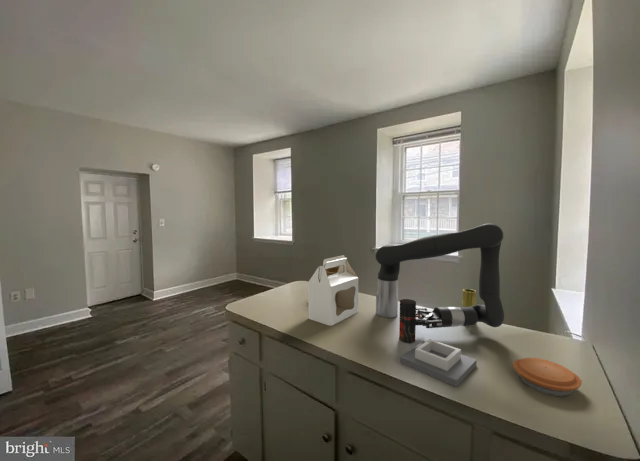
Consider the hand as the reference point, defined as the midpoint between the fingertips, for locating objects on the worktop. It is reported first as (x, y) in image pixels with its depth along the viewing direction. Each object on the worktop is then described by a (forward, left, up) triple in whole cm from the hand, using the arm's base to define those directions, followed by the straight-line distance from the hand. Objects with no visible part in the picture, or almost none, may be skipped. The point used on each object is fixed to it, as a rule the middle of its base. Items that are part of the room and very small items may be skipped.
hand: (407, 317), depth 111 cm
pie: (+42, +3, -9) cm, 43 cm away
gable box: (-37, -2, -9) cm, 38 cm away
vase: (+10, +35, -9) cm, 37 cm away
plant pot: (-55, +20, -9) cm, 59 cm away
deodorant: (0, 0, -9) cm, 9 cm away
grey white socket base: (+16, -9, -9) cm, 20 cm away
